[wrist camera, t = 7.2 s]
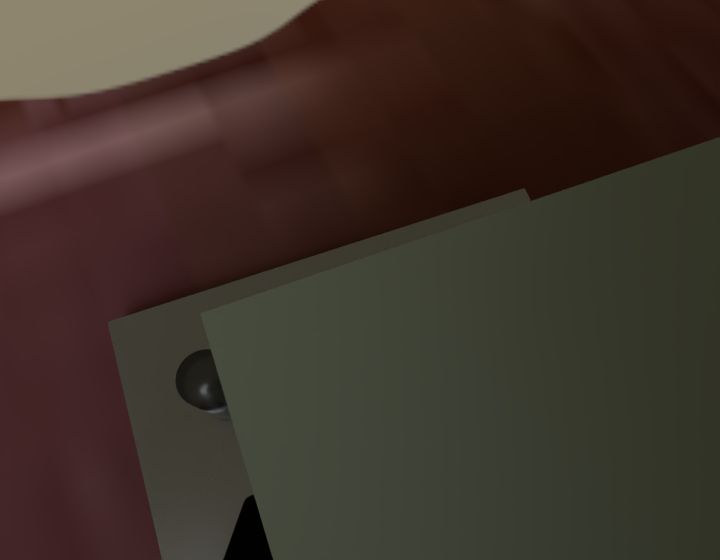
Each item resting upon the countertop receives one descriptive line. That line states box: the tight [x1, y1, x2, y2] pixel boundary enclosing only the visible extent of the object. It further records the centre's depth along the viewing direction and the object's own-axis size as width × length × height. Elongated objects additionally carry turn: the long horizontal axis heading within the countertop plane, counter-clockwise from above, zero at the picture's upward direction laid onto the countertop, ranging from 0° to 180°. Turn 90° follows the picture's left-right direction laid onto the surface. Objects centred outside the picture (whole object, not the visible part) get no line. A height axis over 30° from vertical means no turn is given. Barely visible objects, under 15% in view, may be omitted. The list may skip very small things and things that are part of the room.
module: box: [200, 137, 720, 560], centre depth 10 cm, size 6×5×12 cm
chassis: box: [108, 188, 531, 560], centre depth 15 cm, size 16×14×4 cm
